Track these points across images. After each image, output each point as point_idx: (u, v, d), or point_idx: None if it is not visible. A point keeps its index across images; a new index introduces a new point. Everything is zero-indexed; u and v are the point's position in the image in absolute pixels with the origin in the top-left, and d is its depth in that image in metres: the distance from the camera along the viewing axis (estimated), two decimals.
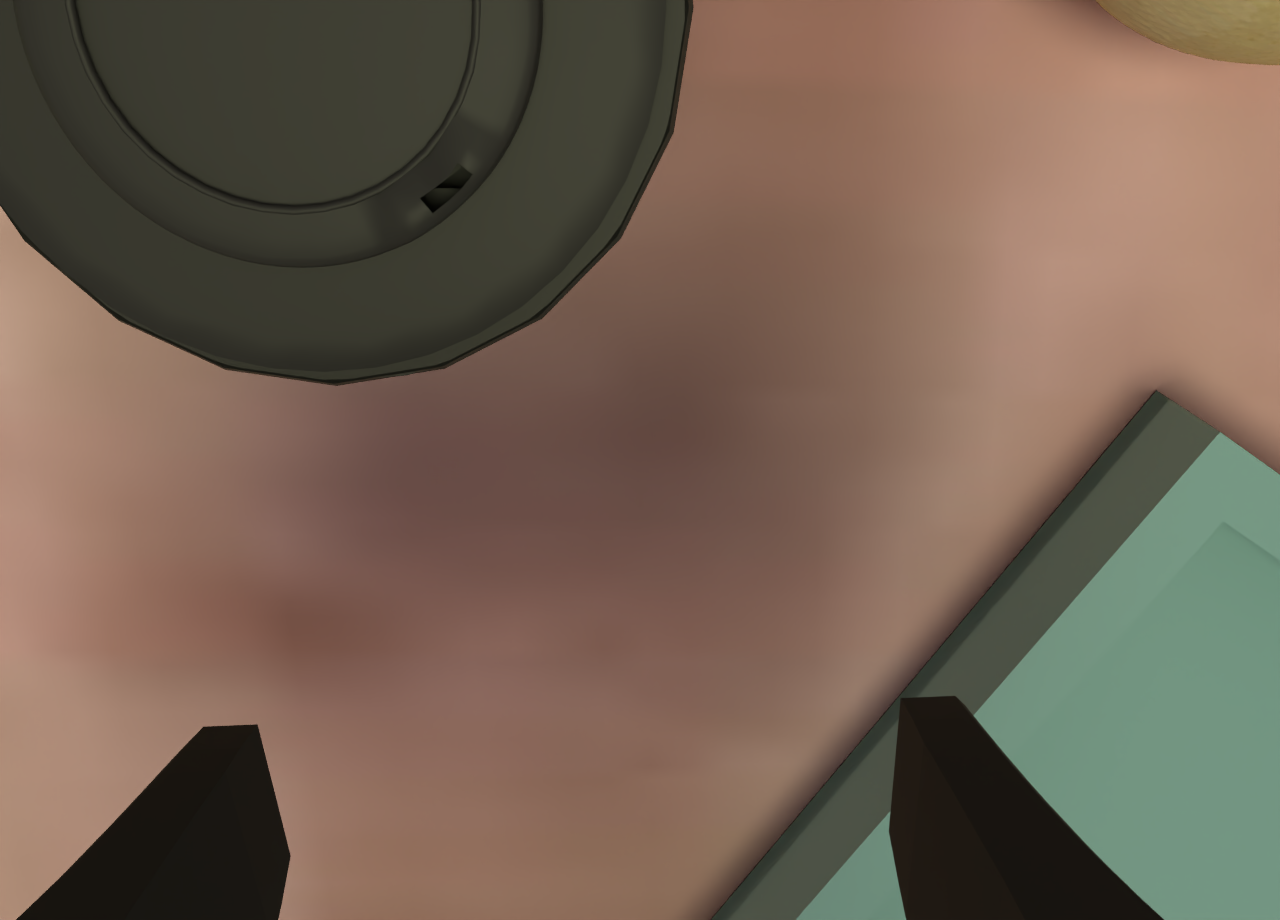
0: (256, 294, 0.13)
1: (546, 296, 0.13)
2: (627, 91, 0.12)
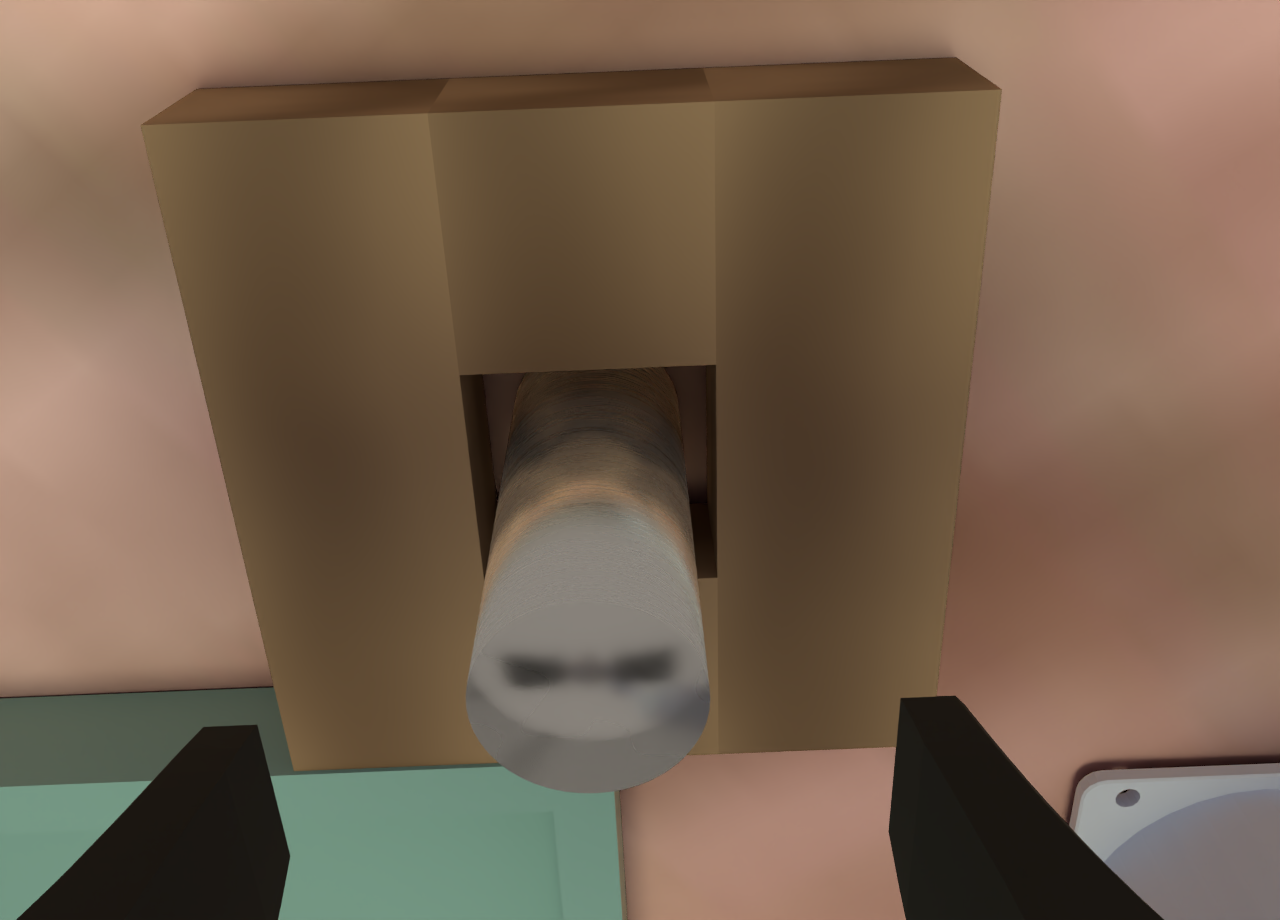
0: None
1: None
2: None
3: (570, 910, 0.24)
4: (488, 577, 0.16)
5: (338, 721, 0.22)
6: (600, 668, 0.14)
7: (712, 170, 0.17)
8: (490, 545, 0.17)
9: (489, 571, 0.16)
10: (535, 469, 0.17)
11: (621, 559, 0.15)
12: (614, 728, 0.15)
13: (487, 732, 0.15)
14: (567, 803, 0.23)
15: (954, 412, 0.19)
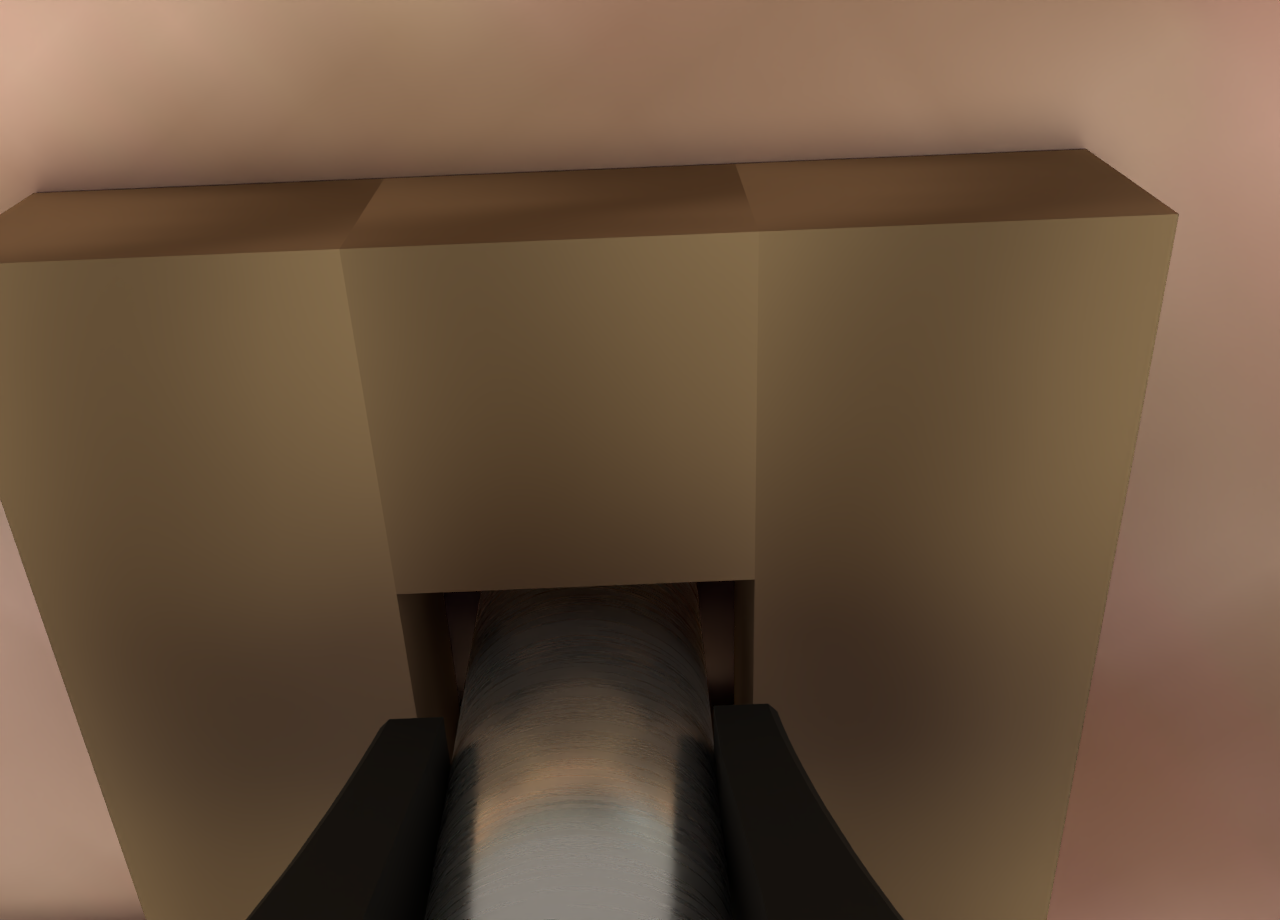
0: None
1: None
2: None
3: None
4: None
5: None
6: None
7: (753, 326, 0.12)
8: None
9: None
10: (498, 755, 0.12)
11: None
12: None
13: None
14: None
15: (1082, 637, 0.14)
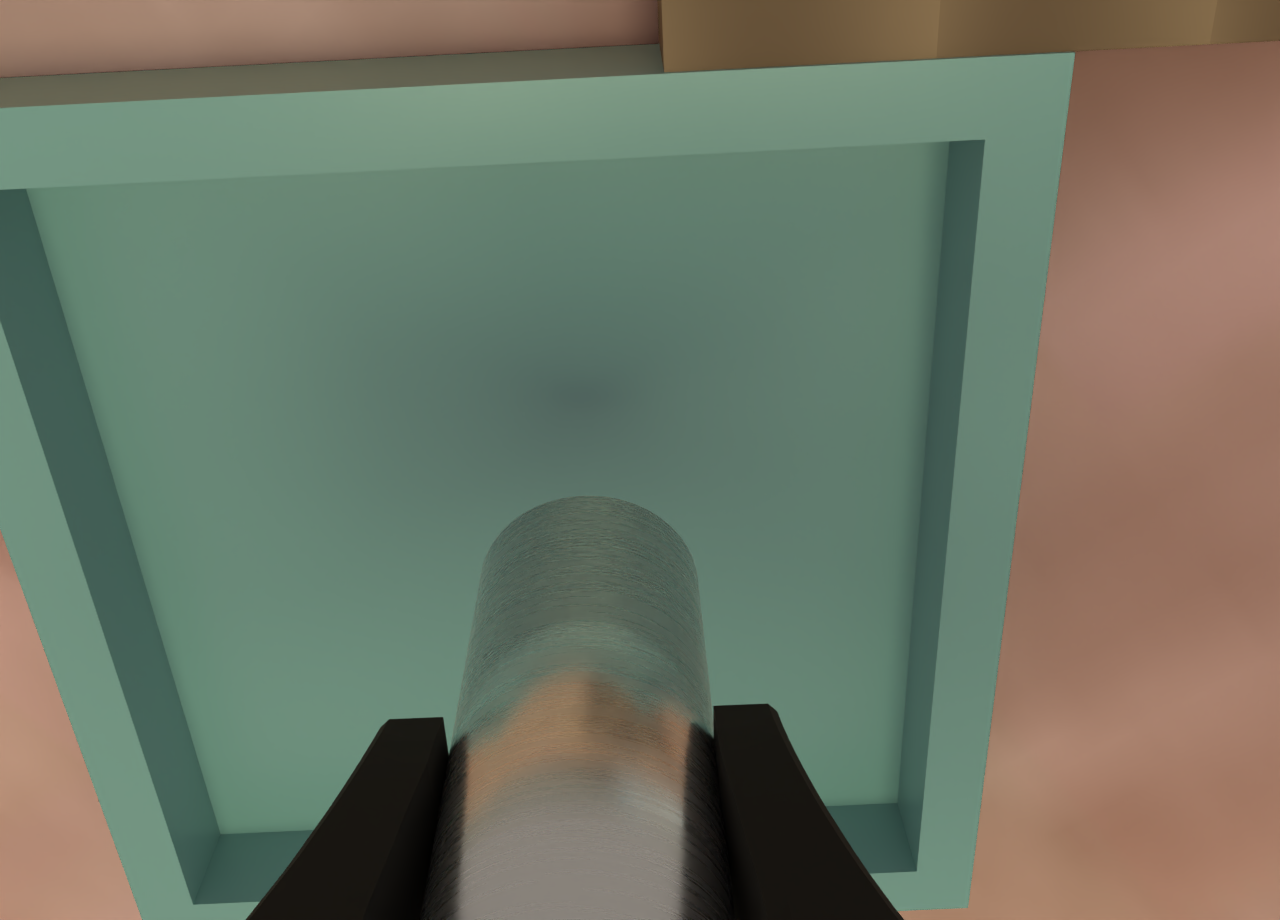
0: None
1: None
2: None
3: (979, 309, 0.19)
4: None
5: None
6: None
7: None
8: (434, 841, 0.12)
9: (429, 913, 0.10)
10: (507, 734, 0.12)
11: None
12: None
13: None
14: (1006, 125, 0.18)
15: None
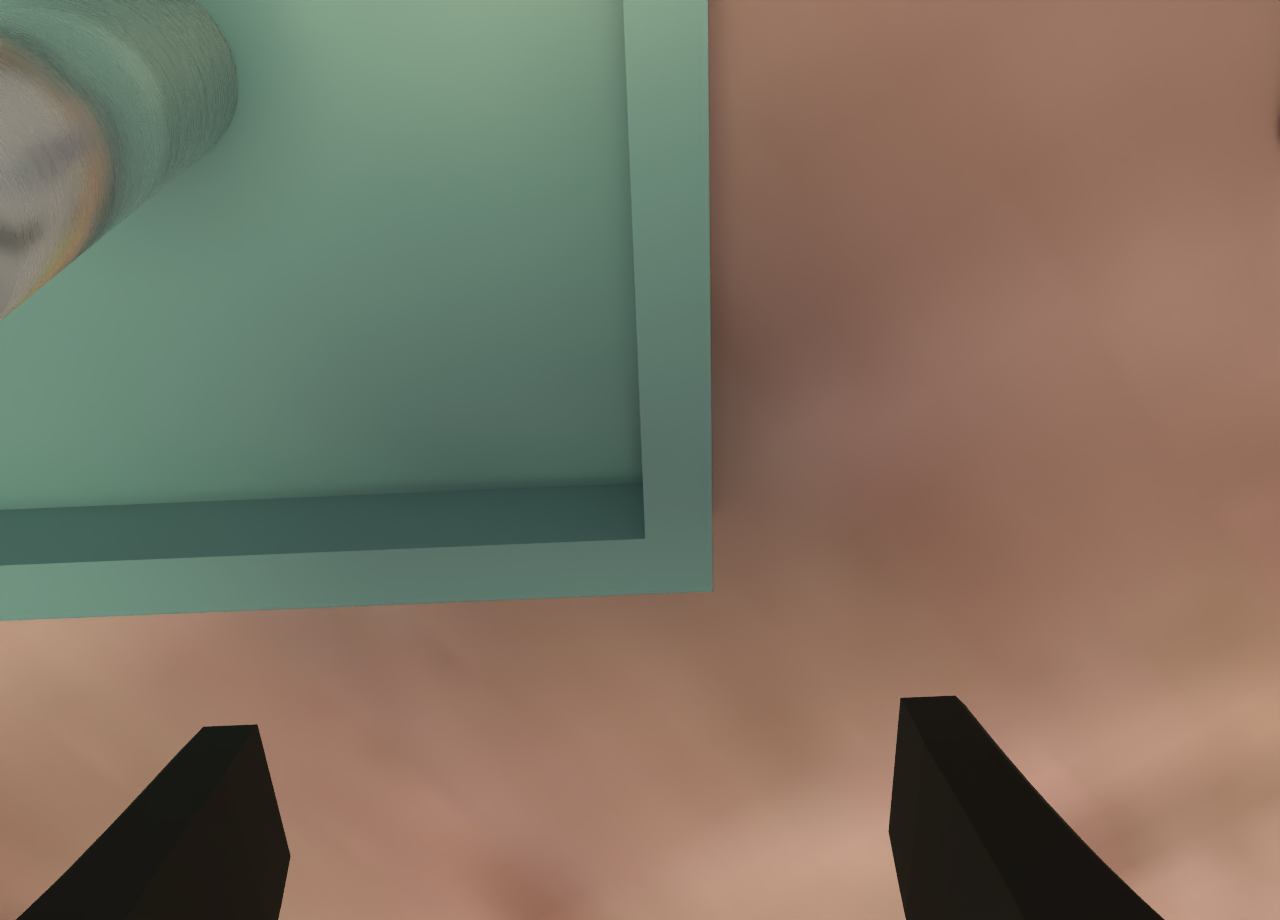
0: None
1: None
2: None
3: None
4: None
5: None
6: None
7: None
8: None
9: None
10: None
11: None
12: None
13: None
14: None
15: None
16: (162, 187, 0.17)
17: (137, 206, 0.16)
